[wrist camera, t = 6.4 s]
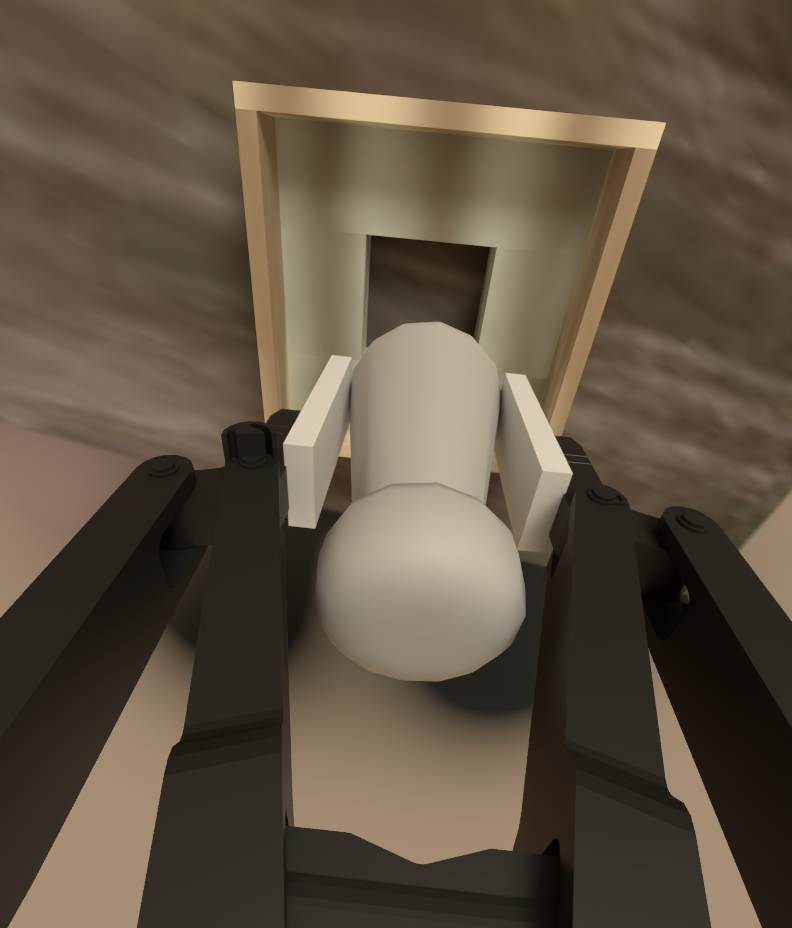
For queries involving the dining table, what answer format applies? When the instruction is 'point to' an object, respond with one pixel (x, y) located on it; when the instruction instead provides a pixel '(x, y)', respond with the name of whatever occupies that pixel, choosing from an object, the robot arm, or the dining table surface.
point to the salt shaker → (421, 514)
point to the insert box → (433, 224)
